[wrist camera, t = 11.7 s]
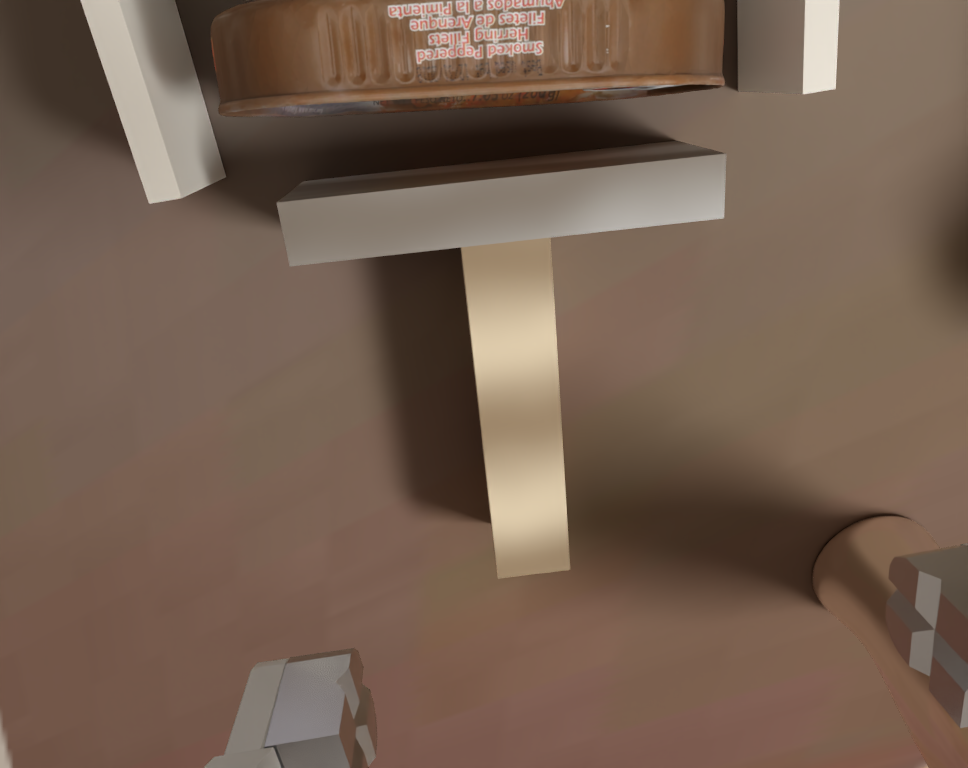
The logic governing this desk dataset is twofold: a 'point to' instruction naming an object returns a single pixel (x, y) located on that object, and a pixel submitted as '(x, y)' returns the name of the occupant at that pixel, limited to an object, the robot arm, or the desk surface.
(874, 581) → the beer glass
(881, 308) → the desk surface
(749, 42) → the box
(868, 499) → the desk surface
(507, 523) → the scraper
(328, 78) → the tin
